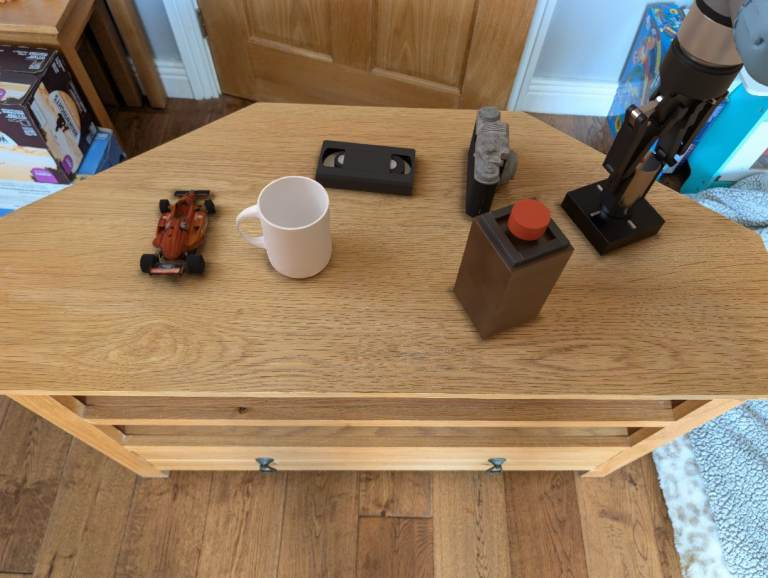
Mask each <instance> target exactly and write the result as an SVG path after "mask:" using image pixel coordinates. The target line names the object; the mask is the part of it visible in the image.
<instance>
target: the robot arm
mask: <svg viewBox="0 0 768 578" xmlns="http://www.w3.org/2000/svg"><path fill="white" fill-rule="evenodd" d="M743 68H744V70H745V71H746V73H747V75H749V77H750V78H751V79H752V80H753V81H755V82H756V83H758V84H760V85H762V86H764V87H767V88H768V0H693V2H692V4H691V6H690V8H689V10H688V12H687V13H686V15H685V17H684V19H683V21H682V22H681V25H680V27H679V28H678V30H677V34H676V36H675V37H673V39H672V40H671V43H670V45H668V49H667V50H666V52H665V54H664V55H663V58H662V60H661V62H660V64H659V67H658V73H659V85H658V86H657V87H656V89H655V90H654V91H653V92H652V94H651V95H650V96H649V99H648V101H647V102H646V103H644V104H642V105H641V106H639V107H638V106H637V105H636V104H634V103H633V104H630V105H629V106H628V107H627V108H626V109H625V112H624V118H623V122H622V124H621V126H620V128H619V130H618V132H617V134H616V136H615V138H614V140H613V141H612V144H611V146H610V148H609V150H608V152H607V154H606V156H605V158H604V160H603V162H602V164H601V166H602V167H603V168H604V170H605V171H606V172H607V173H608V174H609V175H608V177H607V178H608V179H607V178H606V179H607V181H606V182H605V184H604V187H603V189H602V191H601V193H600V195H599V197H598V199H599V200H600V201H601V203H602V204H603V205H604V206H605V207H606V208H607V210H608V211H609V212H611V211H613V210H614V209H615V208H616V206H617V204H618V203H619V201H620V199H621V197H622V196H623V194H624V192H625V191H626V189H627V187H628V186H629V184H630V182H631V181H632V179H633V177H634V176H633V175H632V174H631V173H632V172H633V171H634V169H635V168H636V167H637V165H638V164H639V163H640V162H641V160H642V159H643V158H644V156H645V155H646V154H647V152H648V151H649V150H650V151H651V148H653V146H654V145H655V147H654V149H653V153H655V154H656V155H657V156H658V157H659V159H660V161H661V166H660V168H659V170H658V171H657V173H656V174H655V176H654V178H653V179H652V181H651V182H650V184H649V185H648V187H647V189H646V190H645V192H644V193H643V195H642V196H641V198H640V200H639V201H641V200H643V199H644V198H645V199H646V196H647V194H648V193H649V191H650V190H651V188H652V187H653V185H654V184H655V182H656V181H657V179H658V177H659V176H660V175H661V173H662V172H663V170H664V168H665V167H666V165H667V166H668V167H669V168H673V167H675V166H676V165H677V164H678V160H677V159H676V158H675V157H676V155H678V156H679V157H682V156H684V155H685V154H686V153H687V151H688V150H689V149H690V147H691V146H692V144H693V143H694V141H695V140H696V138H697V137H698V136H699V134H700V132H701V131H702V130H703V128H704V127H705V125H706V124H707V122H708V121H709V120H710V118H711V117H712V115H713V114H714V112H715V111H716V109H717V108H718V107H719V106H720V105H721V104H722V102H723V101H725V100H726V98H727V97H728V96H729V94H730V91H729V89H730V87H731V85H732V84H733V82H734V81H735V80H736V78H737V76H738V75H739V74H740V72H741V71H742V69H743ZM655 143H656V144H655Z"/></svg>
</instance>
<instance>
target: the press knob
mask: <svg viewBox="0 0 768 578" xmlns="http://www.w3.org/2000/svg"><path fill="white" fill-rule="evenodd" d="M515 203H516V204H515ZM515 203H514V204H515V205H514V206H513V208H512V211H511V214H510V217H509V219H508V227H509V229H510V231H511V232H512V233H513V234H514V235H515V236H516V237H518V238H520V239H523V240H536V239H539V238H540V237H542V236H543V234H544V233H545V230H546V228H547V226H548V224H549V222H550V219H551V218H552V215H551V211H550V210H549V208H548V207H547V205H545V204H544V203H543V202H540V201H539V200H538V201H536V200H532V199H529V198H524V199H521V200H518V201H517V202H515Z"/></svg>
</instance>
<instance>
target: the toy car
mask: <svg viewBox="0 0 768 578" xmlns="http://www.w3.org/2000/svg"><path fill="white" fill-rule="evenodd" d="M210 193H211V190H210V189H197V190H194V189H191V190H175V192H174V193H173V196H174V197H180V196H181V198H179V199H178V200H176V201H175V203H174V204H173V205H172V204H171V203H170V200H169V199H168V198H163V199H161V198H160V199H159V202H158V208H159V212H160V214H161V215H160V217H159V218H158V222H157V226H156V229H155V238H154V239H153V240H152V243H151V245H152V246H153V247H154V248H159V249H160V251H159V253H156V252H155V253H143V254H142V255H141V256H140V259H139V267H140V270H141V272H142V273H143V274H148V275H149V276H150V277H151V276H152V275H168V276H176V275H179V276H180V277H182V275H183V273H184V269H186V270H187V273H188V274H189V275H203V273H204V272H205V268H206V261H205V258H204V256H203V254H197V251H198V248H199V246H201V245H203V244H204V243H205V242H206V239H207V237H206V236H207V235H206V233H207V228H208V224H209V223H208V222H209V217H208V215H213V214H216V213H217V209H216V205H215V202H214V201H213V199H212V198H207V199H204V201H203V204H204V205H201V204H196V196H200V197H201V196H210ZM203 207H205V209H206V211H207V213H206V212H203V211H200V210H201V209H202V208H203ZM207 214H208V215H207ZM163 256H164V258H166V259H167V260H169V261H167V262H164V263H162V262H160V261H161V260H160V259H162V257H163ZM184 256H185V258H186V262H185V259H182V258H183V257H184Z"/></svg>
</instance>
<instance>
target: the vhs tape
mask: <svg viewBox="0 0 768 578" xmlns="http://www.w3.org/2000/svg"><path fill="white" fill-rule="evenodd" d="M416 153H417V151H416V149H415V148H410V147H408V148H407V147H400V146H392V145H391V146H390V145H389V146H388V145H381V144H370V143H361V142H359V143H358V142H351V141H339V140H332V139H331V140H329V139H325V140H323V141H322V145H321V149H320V154H319V158H318V163H317V168H316V172H315V175H314V180H315V181H316V182H318V183H319V184H321V185H322V186H323V187H324V188H329V189H339V190H347V191H348V190H349V191H358V192H359V191H360V192H363V191H364V192H367V193H377V194H388V195H396V196H397V195H398V196H407V197H412V194H413V188H414V187H413V186H414V177H415V176H414V175H415V163H416Z"/></svg>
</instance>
